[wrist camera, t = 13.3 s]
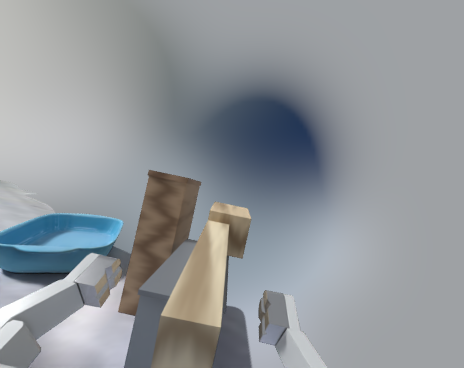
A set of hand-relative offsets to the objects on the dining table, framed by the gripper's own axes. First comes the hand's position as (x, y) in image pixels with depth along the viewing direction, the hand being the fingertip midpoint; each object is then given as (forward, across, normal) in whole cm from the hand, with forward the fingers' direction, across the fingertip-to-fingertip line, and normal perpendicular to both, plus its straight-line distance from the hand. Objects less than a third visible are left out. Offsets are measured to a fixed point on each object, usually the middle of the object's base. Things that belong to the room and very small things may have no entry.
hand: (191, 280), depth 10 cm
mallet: (+11, -2, -10) cm, 15 cm away
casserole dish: (+26, -40, -39) cm, 61 cm away
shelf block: (+16, -11, -33) cm, 38 cm away
